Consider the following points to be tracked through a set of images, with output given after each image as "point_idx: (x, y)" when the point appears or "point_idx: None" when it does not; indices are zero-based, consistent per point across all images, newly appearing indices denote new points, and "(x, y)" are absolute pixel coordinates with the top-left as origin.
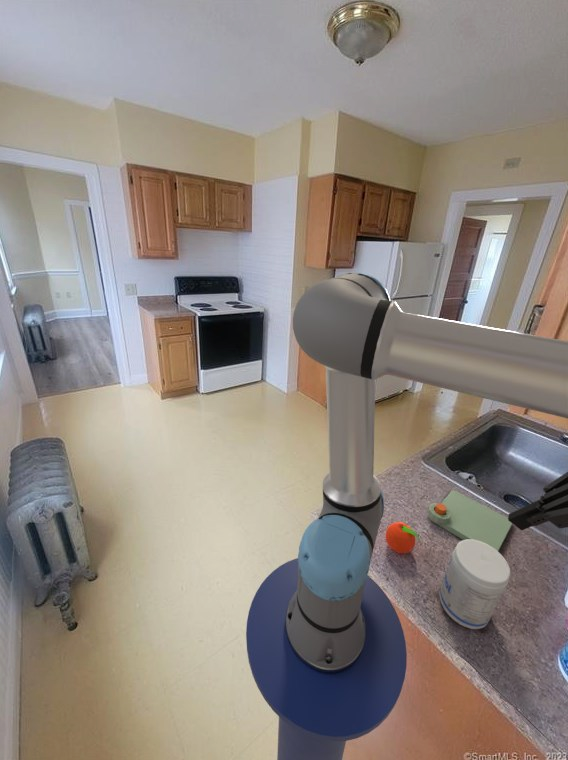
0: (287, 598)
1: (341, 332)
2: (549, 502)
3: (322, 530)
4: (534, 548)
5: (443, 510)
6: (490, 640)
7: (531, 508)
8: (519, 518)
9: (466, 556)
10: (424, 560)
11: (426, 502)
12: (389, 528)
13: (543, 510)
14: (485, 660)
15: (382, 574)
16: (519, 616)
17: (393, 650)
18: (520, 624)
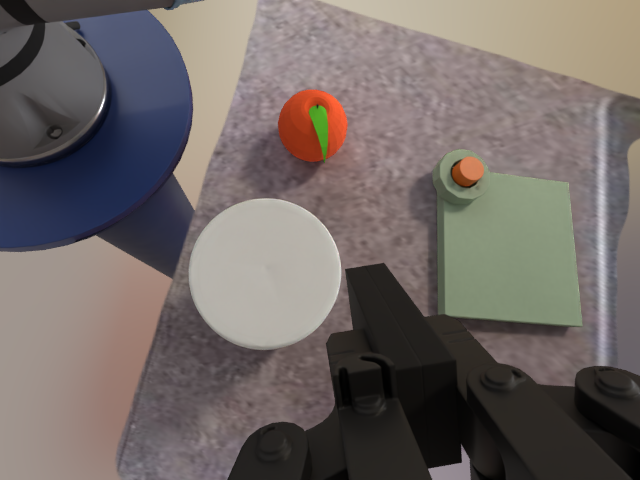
0: None
1: None
2: (481, 434)
3: None
4: (540, 383)
5: (464, 175)
6: (232, 354)
7: (385, 333)
8: (355, 304)
9: (243, 229)
10: (318, 197)
11: (482, 150)
12: (303, 91)
13: (340, 409)
14: (183, 356)
15: (221, 142)
16: (329, 390)
17: (70, 212)
18: (311, 395)
